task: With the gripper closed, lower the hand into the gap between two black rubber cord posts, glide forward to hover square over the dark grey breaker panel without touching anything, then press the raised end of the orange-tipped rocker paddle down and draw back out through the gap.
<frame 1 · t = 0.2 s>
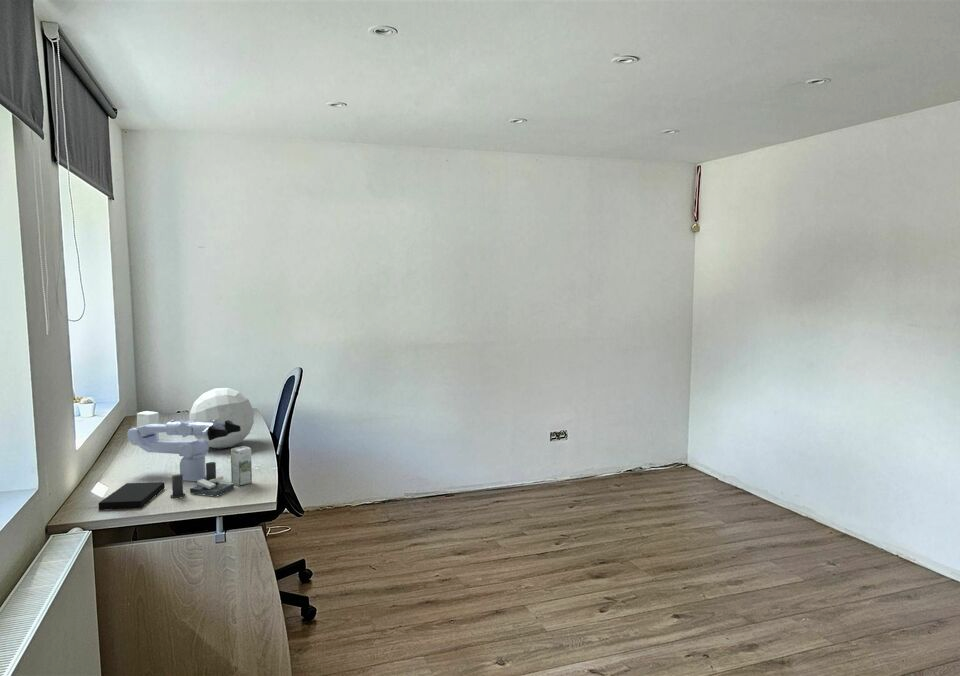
hand: (233, 430, 259), 21 cm above the table, tool horizontal, fingers open, 7 cm apart
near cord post: (178, 496, 244), on the table
external hard drive: (133, 500, 242), on the table
skincare box: (148, 443, 329), on the table
breaker panel: (212, 491, 250), on the table
far cord post: (211, 482, 261), on the table
syrup box: (241, 483, 260), on the table
ball: (222, 447, 321), on the table
orange-tipped paddle: (214, 480, 252), point 4 cm above the table, hinge at -16.0°
grey paddle: (206, 483, 248), point 4 cm above the table, hinge at 16.0°
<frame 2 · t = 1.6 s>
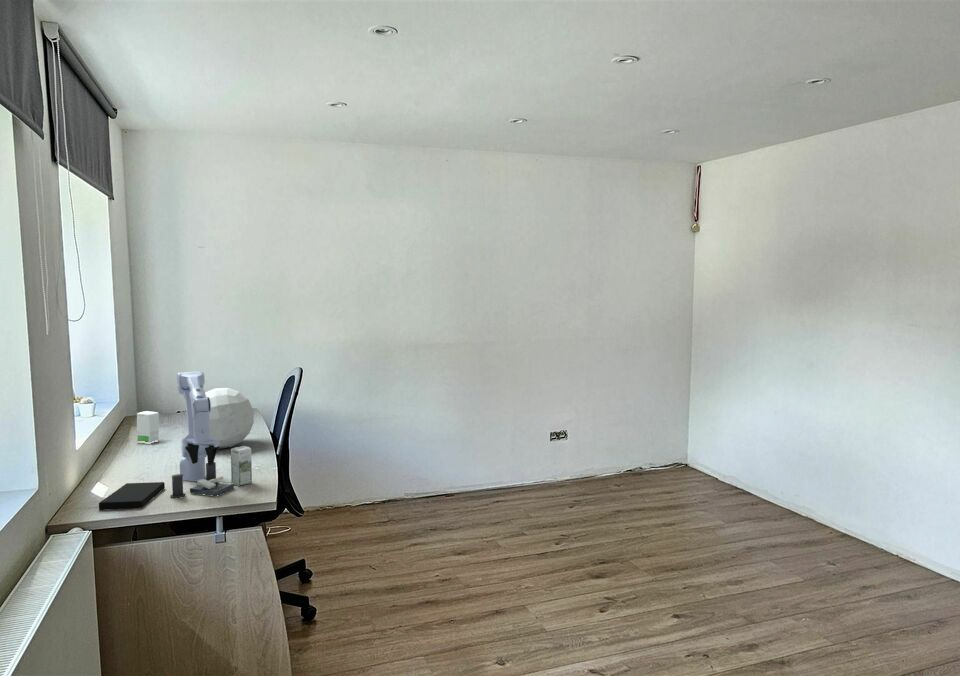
hand: (202, 463, 251), 10 cm above the table, tool pointing down, fingers open, 7 cm apart
nothing on the table moved.
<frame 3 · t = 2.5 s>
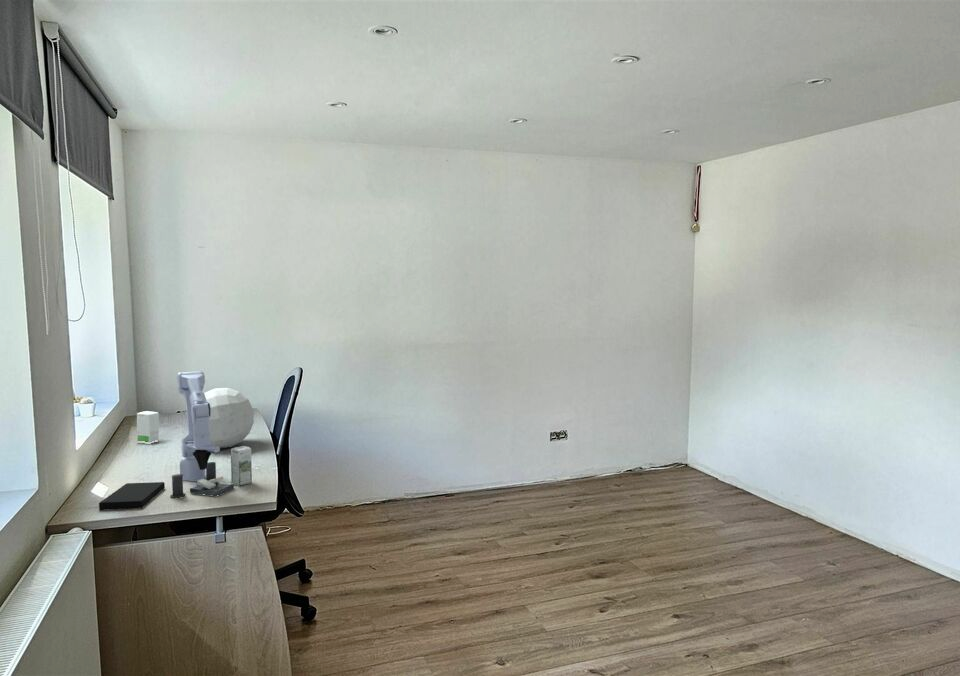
hand: (203, 469, 251), 8 cm above the table, tool pointing down, fingers closed
nothing on the table moved.
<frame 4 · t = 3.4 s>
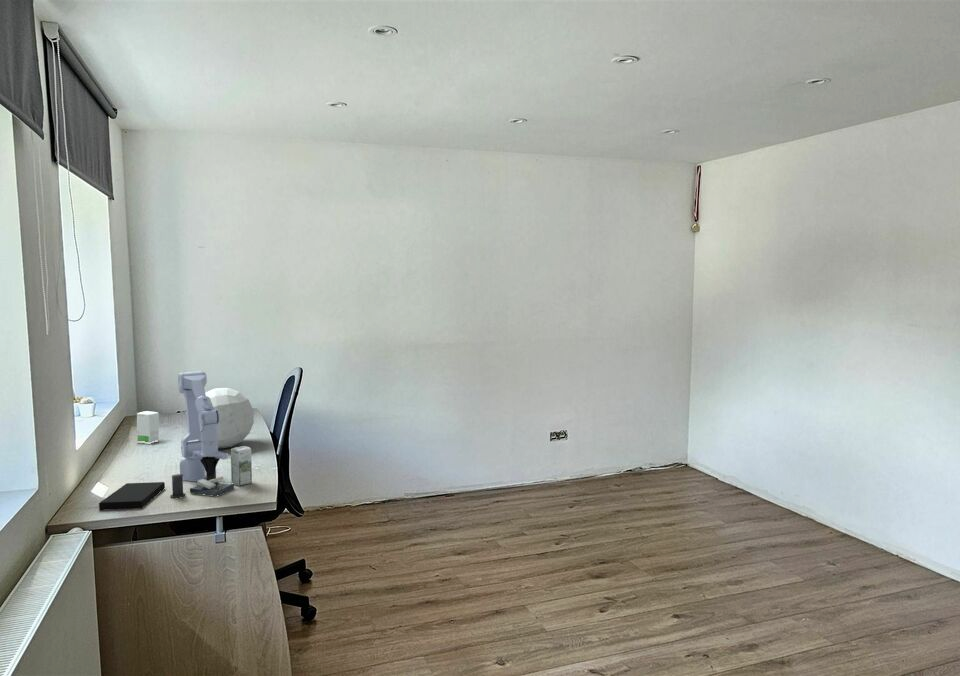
hand: (210, 476, 250), 6 cm above the table, tool pointing down, fingers closed
nothing on the table moved.
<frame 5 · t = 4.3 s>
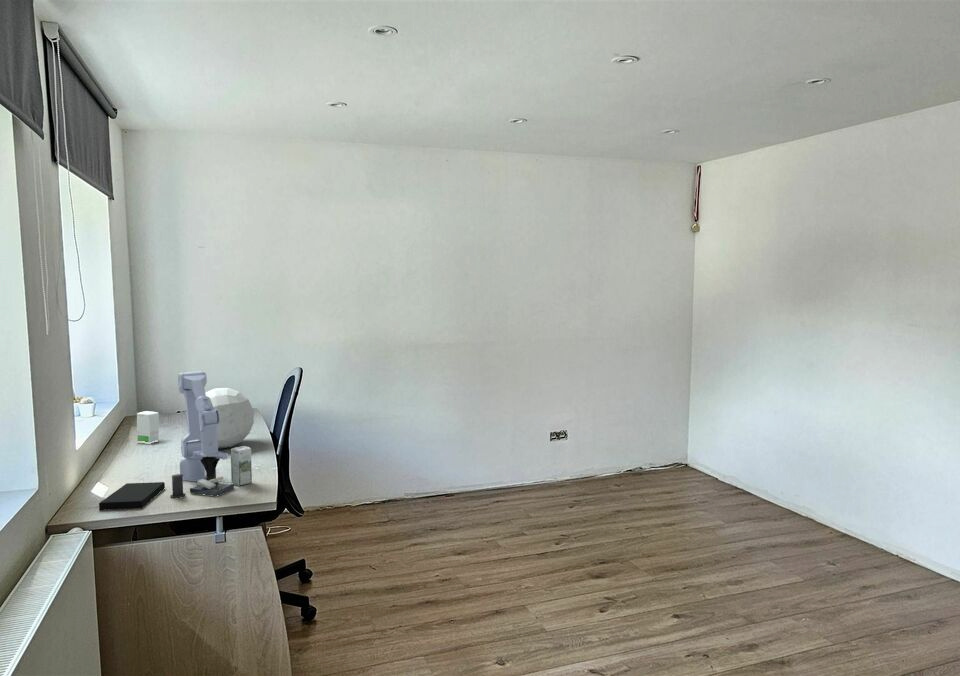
hand: (210, 476, 250), 6 cm above the table, tool pointing down, fingers closed
nothing on the table moved.
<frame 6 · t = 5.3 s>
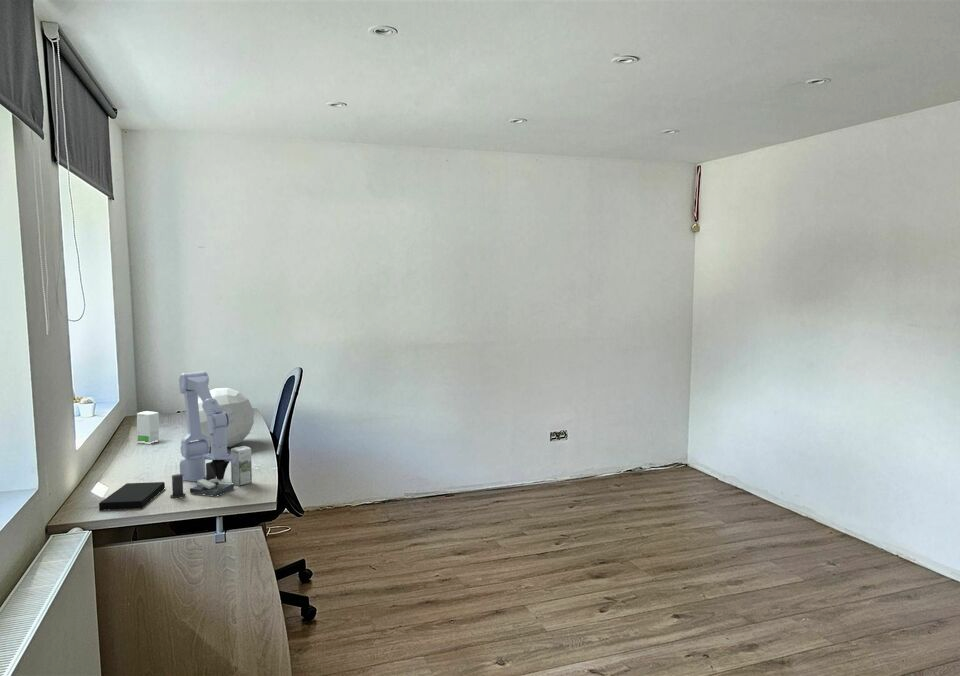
hand: (220, 478, 251), 4 cm above the table, tool pointing down, fingers closed, pressing on orange-tipped paddle
orange-tipped paddle: (214, 480, 252), point 4 cm above the table, hinge at -15.5°, touching gripper
everything else where it was.
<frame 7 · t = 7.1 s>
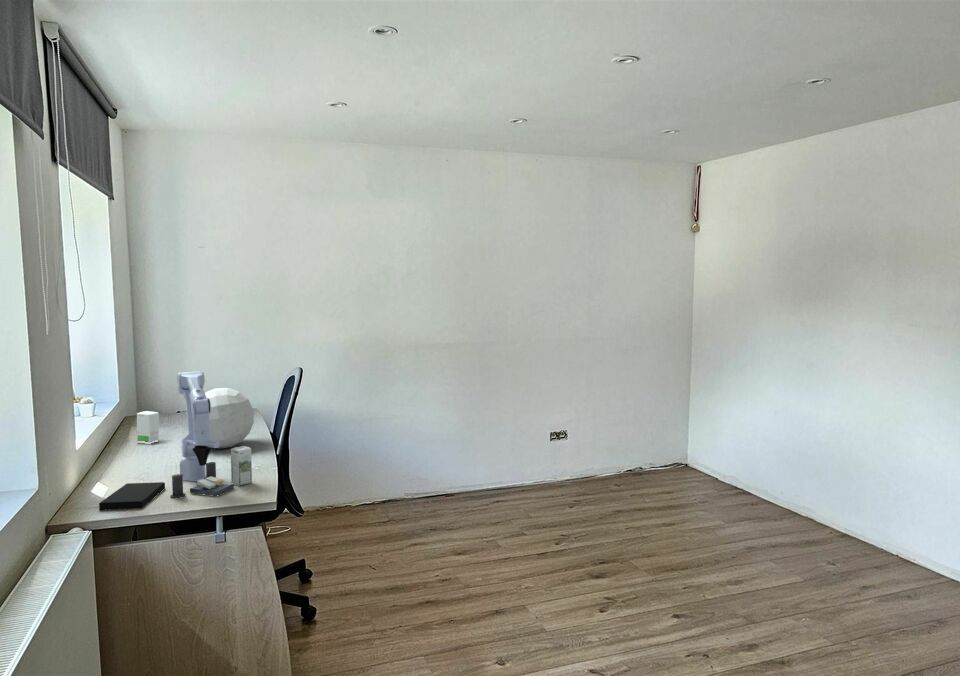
hand: (202, 465, 251), 10 cm above the table, tool pointing down, fingers closed
orange-tipped paddle: (214, 480, 252), point 4 cm above the table, hinge at 10.3°
everything else where it was.
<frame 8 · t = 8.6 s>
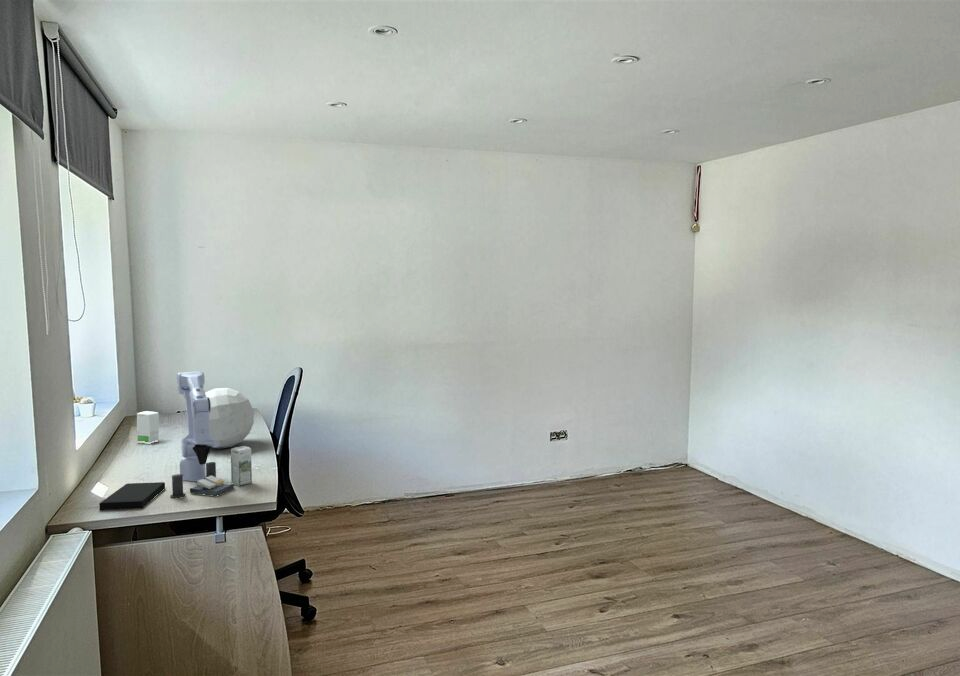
hand: (202, 463, 251), 10 cm above the table, tool pointing down, fingers closed
orange-tipped paddle: (214, 480, 252), point 4 cm above the table, hinge at 18.0°
everything else where it was.
at the end: orange-tipped paddle at +18° (first picture: -16°); grey paddle at +16° (first picture: +16°); syrup box moved 0.2 cm from its start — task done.
